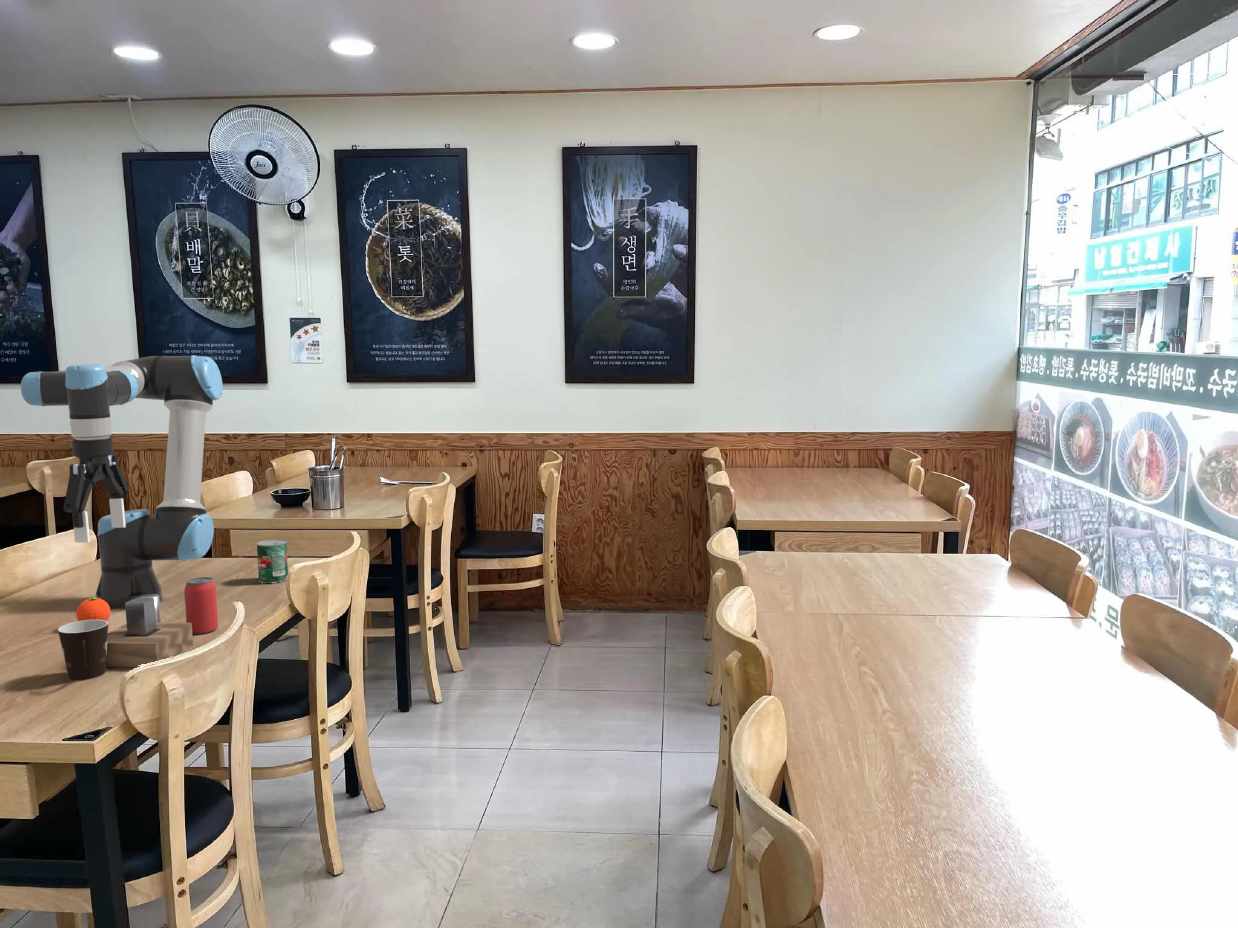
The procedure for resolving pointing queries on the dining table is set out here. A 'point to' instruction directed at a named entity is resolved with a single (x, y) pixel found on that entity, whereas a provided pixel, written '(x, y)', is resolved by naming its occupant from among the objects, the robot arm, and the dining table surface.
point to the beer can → (201, 605)
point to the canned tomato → (272, 560)
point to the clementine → (93, 610)
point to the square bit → (140, 617)
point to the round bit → (157, 605)
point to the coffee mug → (84, 648)
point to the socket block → (147, 644)
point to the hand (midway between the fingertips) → (101, 534)
